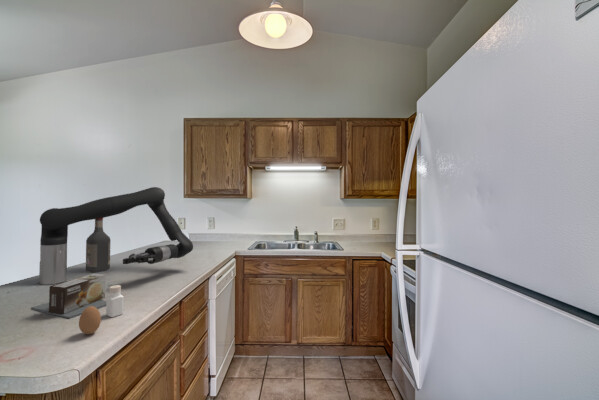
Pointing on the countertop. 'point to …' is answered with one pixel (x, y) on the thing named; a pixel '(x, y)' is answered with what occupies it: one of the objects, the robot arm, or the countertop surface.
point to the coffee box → (76, 293)
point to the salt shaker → (114, 302)
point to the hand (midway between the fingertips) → (124, 261)
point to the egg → (89, 320)
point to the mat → (70, 314)
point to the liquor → (98, 249)
